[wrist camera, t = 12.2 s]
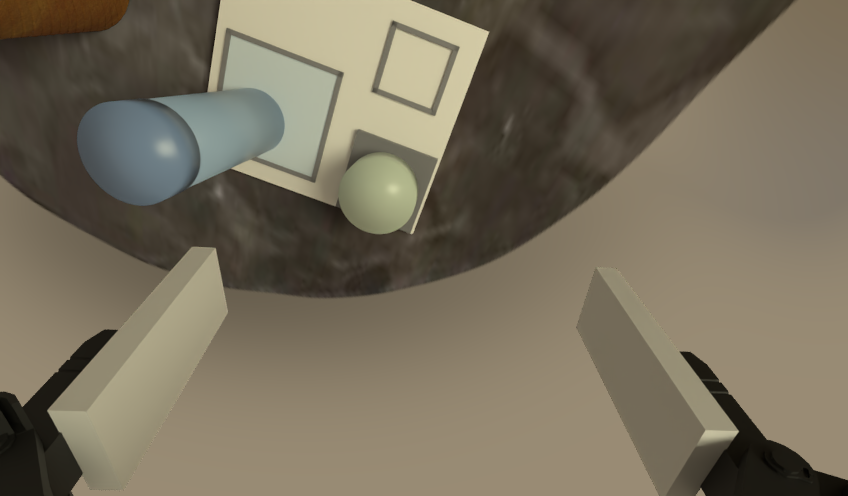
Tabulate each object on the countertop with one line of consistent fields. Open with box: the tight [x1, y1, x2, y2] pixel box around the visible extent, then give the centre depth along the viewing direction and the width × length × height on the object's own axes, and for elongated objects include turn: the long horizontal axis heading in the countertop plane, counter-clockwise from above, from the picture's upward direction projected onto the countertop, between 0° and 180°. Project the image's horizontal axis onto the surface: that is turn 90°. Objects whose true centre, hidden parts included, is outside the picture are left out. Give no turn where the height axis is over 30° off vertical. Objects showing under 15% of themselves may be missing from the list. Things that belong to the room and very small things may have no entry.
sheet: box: [208, 0, 489, 234], centre depth 28 cm, size 14×16×1 cm
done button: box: [338, 152, 418, 234], centre depth 27 cm, size 5×5×2 cm
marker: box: [77, 88, 285, 206], centre depth 23 cm, size 4×4×12 cm
